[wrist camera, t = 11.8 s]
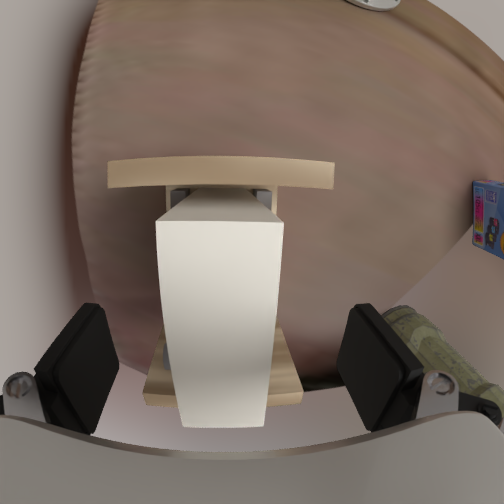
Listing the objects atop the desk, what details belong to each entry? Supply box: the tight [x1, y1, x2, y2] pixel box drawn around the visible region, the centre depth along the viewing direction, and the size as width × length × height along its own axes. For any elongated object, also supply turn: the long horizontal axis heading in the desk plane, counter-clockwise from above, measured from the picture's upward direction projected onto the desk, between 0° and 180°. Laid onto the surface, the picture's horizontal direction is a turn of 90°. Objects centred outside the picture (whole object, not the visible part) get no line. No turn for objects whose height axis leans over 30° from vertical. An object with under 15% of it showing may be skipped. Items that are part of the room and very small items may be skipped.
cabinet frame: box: [108, 156, 335, 408], centre depth 19 cm, size 14×10×14 cm
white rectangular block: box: [156, 187, 284, 428], centre depth 17 cm, size 10×5×16 cm, turn 177°
